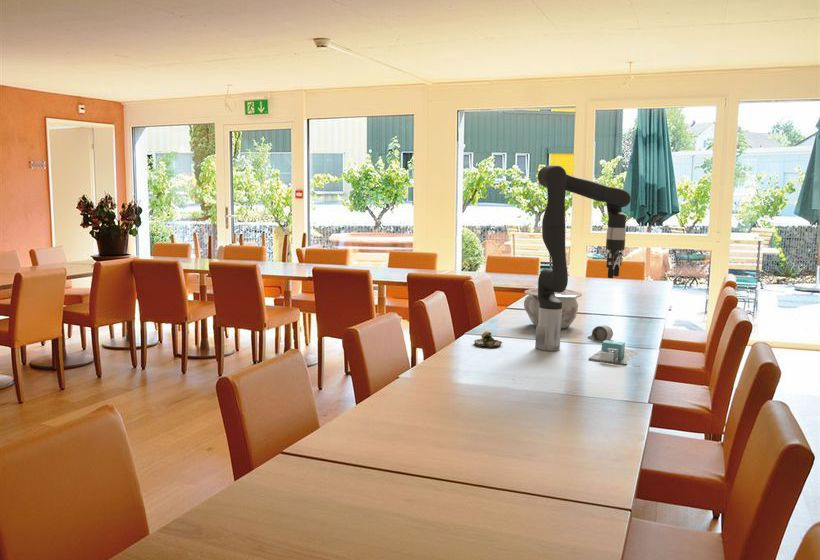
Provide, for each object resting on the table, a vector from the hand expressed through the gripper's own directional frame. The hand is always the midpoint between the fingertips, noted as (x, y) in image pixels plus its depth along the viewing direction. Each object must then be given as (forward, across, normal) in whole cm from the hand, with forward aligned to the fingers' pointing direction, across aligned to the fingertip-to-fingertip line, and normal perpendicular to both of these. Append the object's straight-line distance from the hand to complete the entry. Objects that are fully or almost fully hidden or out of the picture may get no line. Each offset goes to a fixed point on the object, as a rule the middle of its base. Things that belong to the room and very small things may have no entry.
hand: (613, 277), depth 291 cm
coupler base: (+30, -16, -7) cm, 35 cm away
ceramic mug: (+30, +10, +7) cm, 33 cm away
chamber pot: (+30, +29, +36) cm, 56 cm away
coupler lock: (+29, -22, -8) cm, 37 cm away
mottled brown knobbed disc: (+31, -28, +43) cm, 60 cm away
